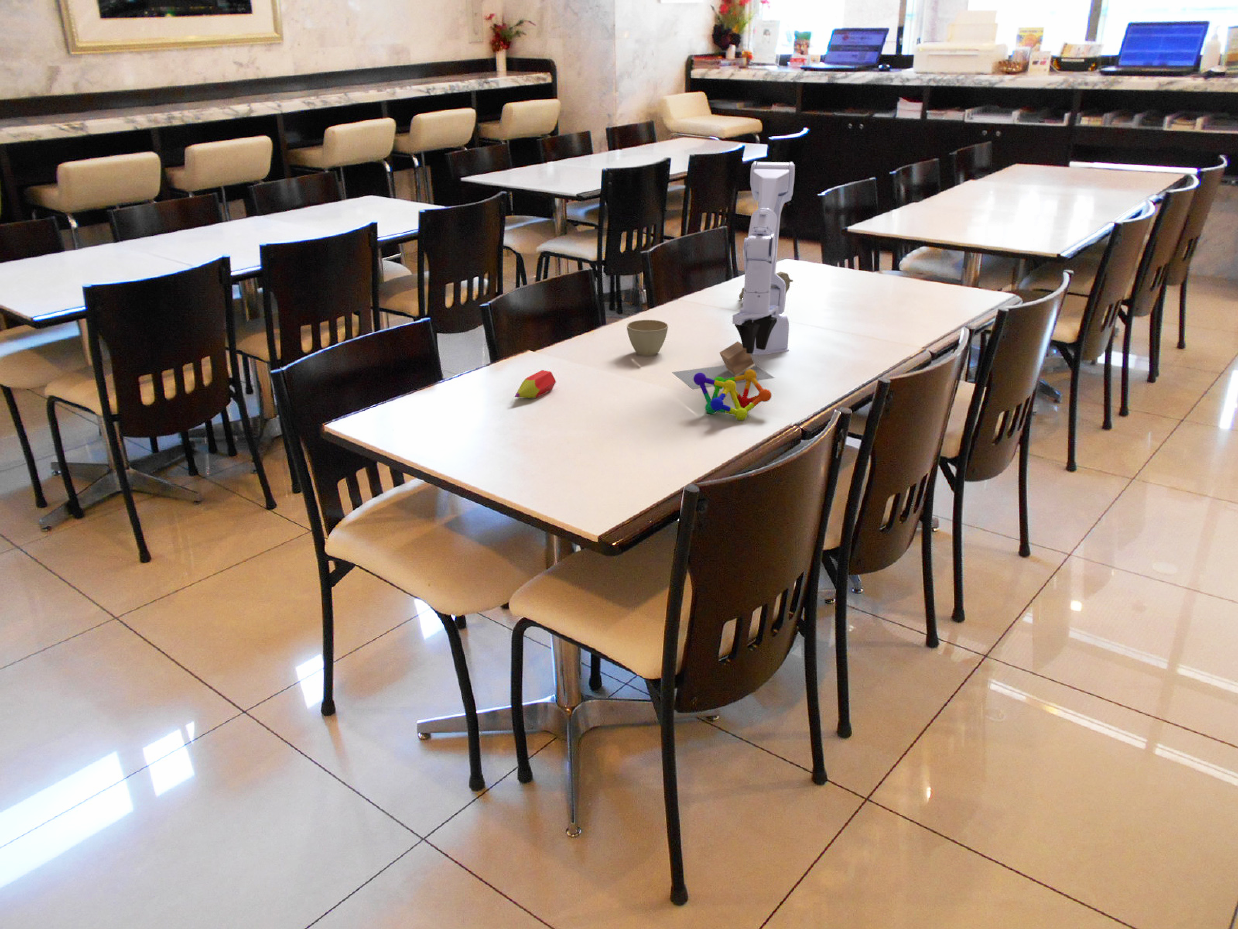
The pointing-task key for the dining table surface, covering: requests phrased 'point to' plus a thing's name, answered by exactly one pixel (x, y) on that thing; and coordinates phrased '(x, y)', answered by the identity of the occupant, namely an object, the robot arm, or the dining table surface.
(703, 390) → the decorative model
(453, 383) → the dining table surface
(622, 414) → the dining table surface
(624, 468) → the dining table surface
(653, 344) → the flower pot
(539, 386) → the pencil
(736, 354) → the walnut cube
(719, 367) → the mat
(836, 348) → the dining table surface
